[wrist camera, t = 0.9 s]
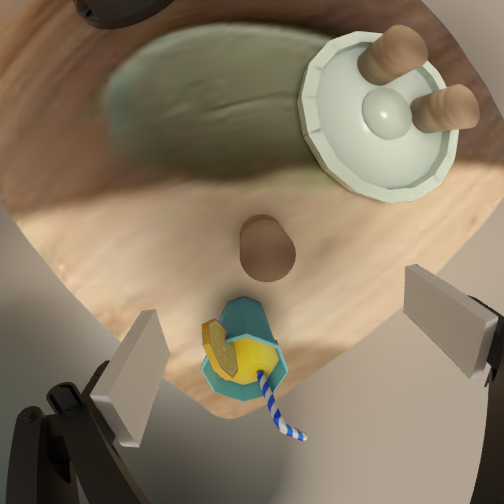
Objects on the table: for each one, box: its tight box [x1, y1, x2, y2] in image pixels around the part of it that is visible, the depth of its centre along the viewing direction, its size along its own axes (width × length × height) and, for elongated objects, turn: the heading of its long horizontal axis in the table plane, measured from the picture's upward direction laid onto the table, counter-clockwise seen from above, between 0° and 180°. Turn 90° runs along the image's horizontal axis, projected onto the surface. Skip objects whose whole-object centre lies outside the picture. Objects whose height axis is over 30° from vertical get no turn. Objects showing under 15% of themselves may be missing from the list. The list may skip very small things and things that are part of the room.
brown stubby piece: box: [240, 215, 296, 282], centre depth 28 cm, size 5×5×8 cm
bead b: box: [410, 84, 480, 134], centre depth 24 cm, size 5×5×8 cm
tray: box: [297, 31, 459, 203], centre depth 28 cm, size 20×20×2 cm
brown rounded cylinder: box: [357, 25, 428, 86], centre depth 23 cm, size 5×5×8 cm
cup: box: [200, 296, 308, 441], centre depth 27 cm, size 14×8×15 cm, turn 42°
